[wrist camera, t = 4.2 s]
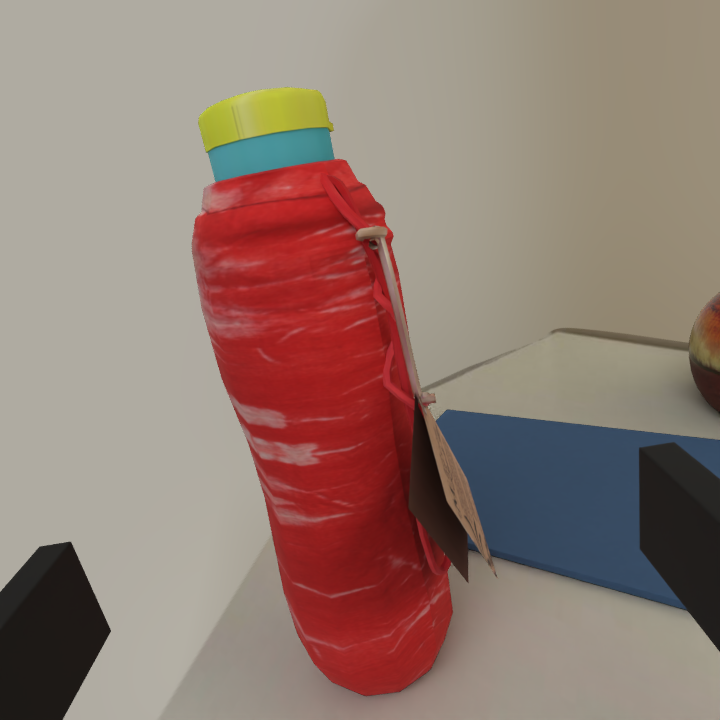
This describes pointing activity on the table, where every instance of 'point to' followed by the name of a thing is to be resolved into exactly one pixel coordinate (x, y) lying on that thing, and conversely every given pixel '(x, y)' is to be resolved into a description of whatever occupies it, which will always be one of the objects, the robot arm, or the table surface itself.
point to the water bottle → (329, 392)
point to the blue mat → (564, 495)
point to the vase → (707, 352)
